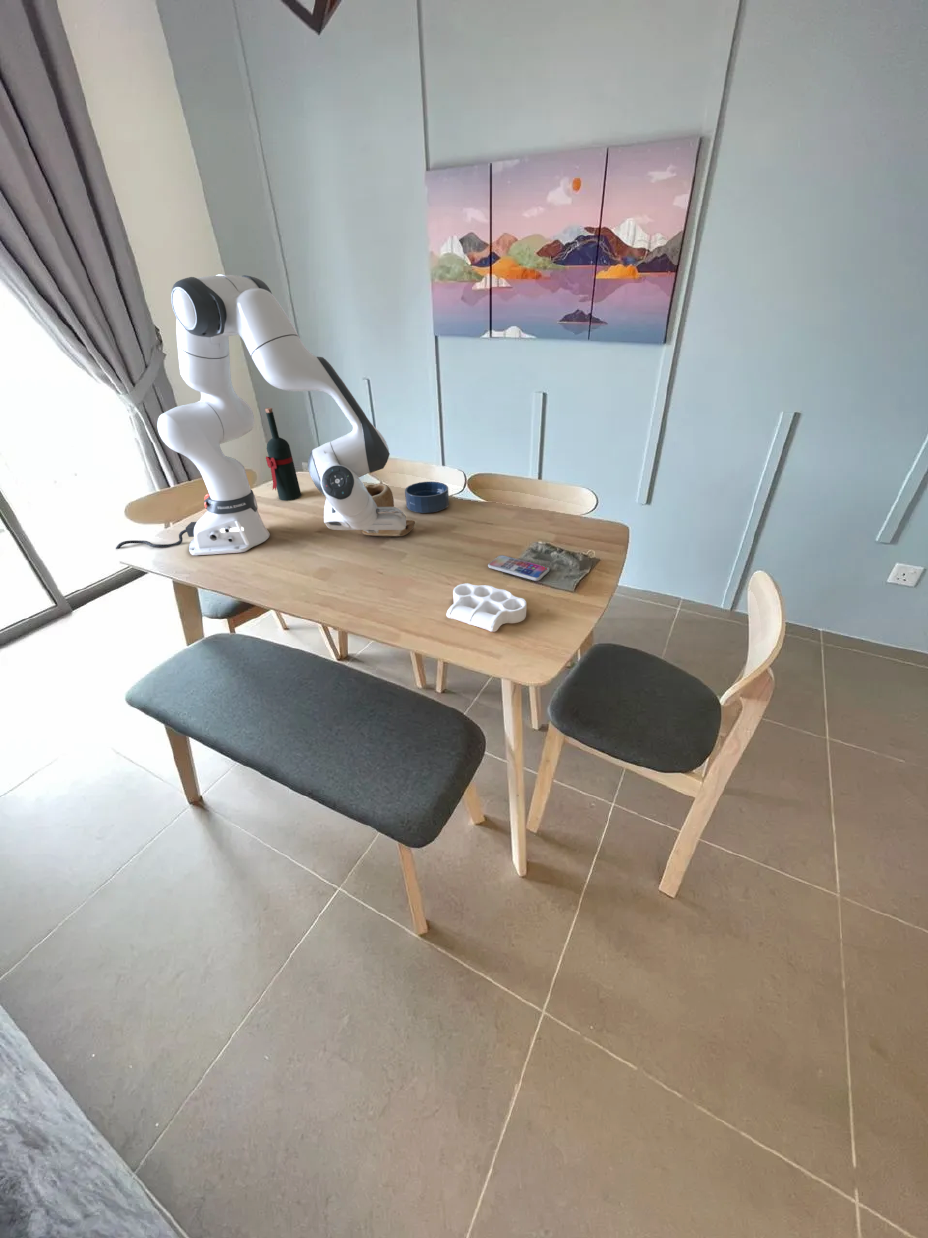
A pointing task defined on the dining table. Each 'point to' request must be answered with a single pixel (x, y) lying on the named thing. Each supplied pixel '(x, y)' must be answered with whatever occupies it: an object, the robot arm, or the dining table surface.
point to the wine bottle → (281, 463)
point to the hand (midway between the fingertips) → (373, 530)
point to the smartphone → (518, 567)
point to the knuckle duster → (486, 606)
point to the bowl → (427, 497)
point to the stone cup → (385, 499)
